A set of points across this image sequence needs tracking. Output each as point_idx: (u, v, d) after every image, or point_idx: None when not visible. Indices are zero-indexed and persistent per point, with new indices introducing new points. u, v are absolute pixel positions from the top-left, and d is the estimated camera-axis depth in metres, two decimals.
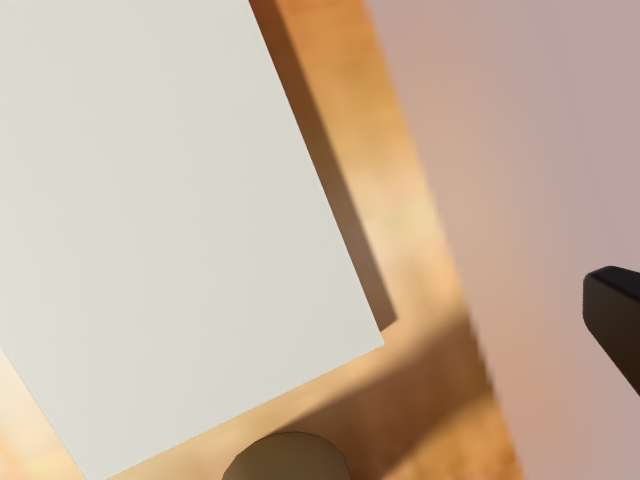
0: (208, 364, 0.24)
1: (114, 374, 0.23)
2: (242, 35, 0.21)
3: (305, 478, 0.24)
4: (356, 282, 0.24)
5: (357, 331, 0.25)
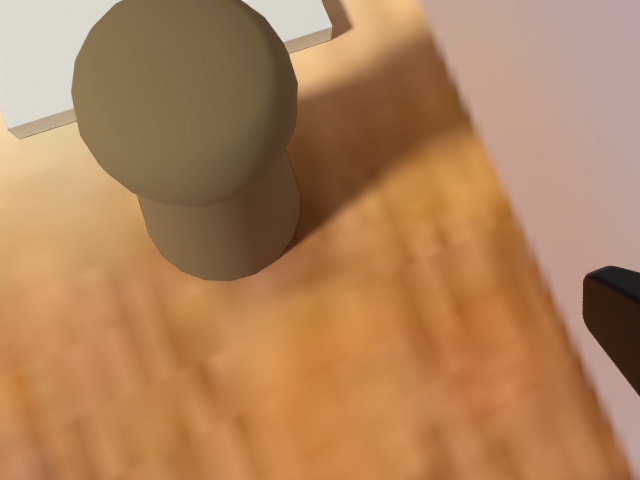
0: None
1: (55, 16, 0.24)
2: None
3: None
4: None
5: (302, 9, 0.24)
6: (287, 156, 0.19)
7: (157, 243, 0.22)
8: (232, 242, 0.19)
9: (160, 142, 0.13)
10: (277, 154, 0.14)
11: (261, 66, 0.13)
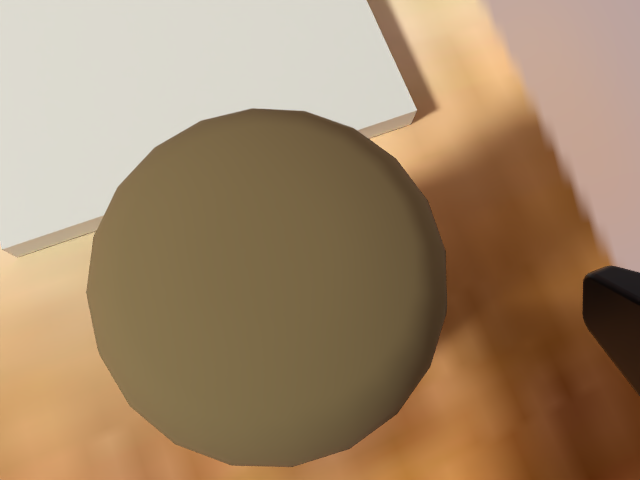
0: (184, 104, 0.19)
1: (67, 101, 0.19)
2: None
3: None
4: (375, 30, 0.20)
5: (378, 88, 0.19)
6: None
7: None
8: None
9: (240, 400, 0.07)
10: (418, 381, 0.09)
11: (406, 256, 0.08)
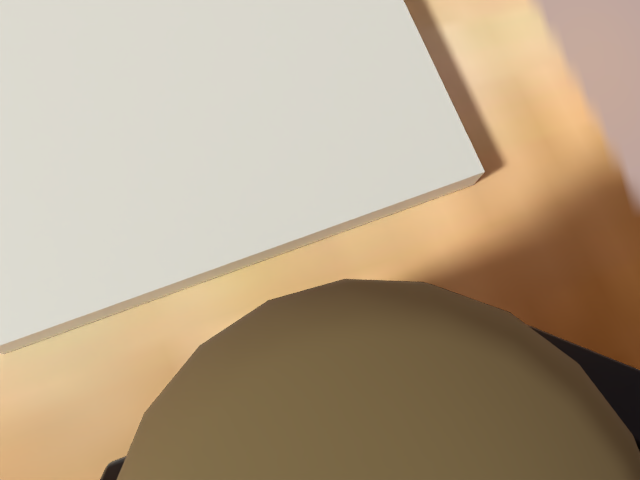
0: (206, 166, 0.16)
1: (65, 163, 0.15)
2: None
3: None
4: (432, 73, 0.17)
5: (438, 145, 0.16)
6: None
7: None
8: None
9: None
10: None
11: None
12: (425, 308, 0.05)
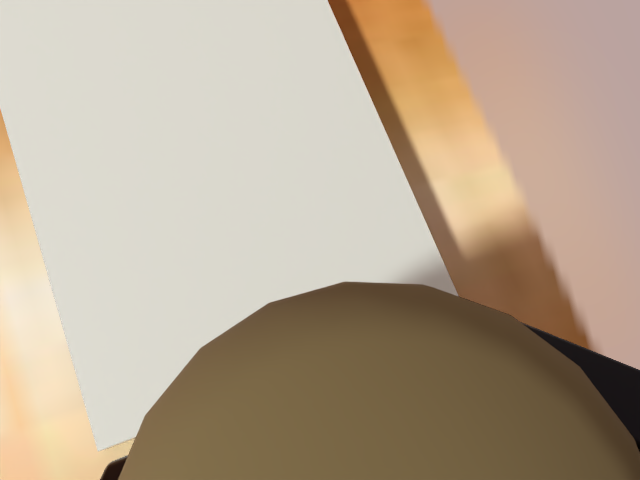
0: (255, 307, 0.21)
1: (151, 305, 0.21)
2: None
3: None
4: (425, 229, 0.22)
5: None
6: None
7: None
8: None
9: None
10: None
11: None
12: (426, 311, 0.05)
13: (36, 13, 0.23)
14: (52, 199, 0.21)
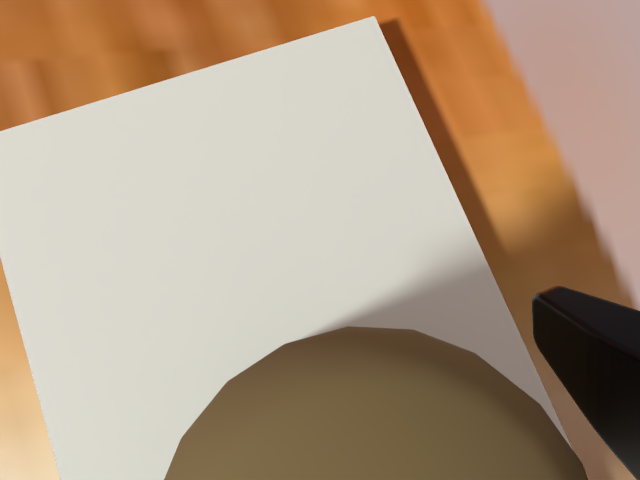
0: None
1: None
2: (412, 146, 0.19)
3: None
4: None
5: None
6: None
7: None
8: None
9: None
10: None
11: None
12: (415, 361, 0.06)
13: (59, 170, 0.18)
14: (84, 438, 0.16)
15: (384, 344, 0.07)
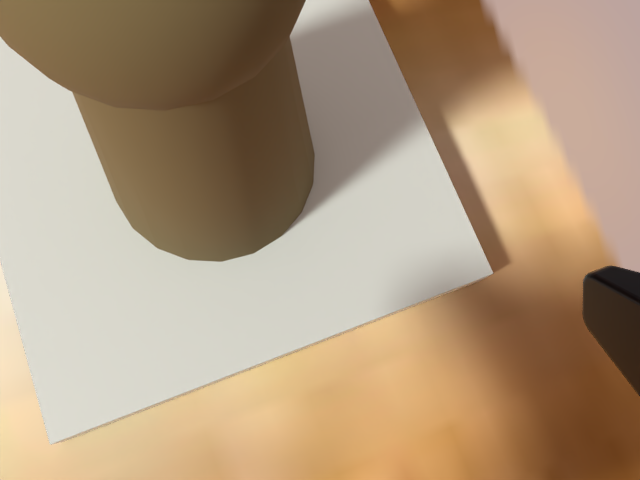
0: (243, 271, 0.17)
1: (117, 269, 0.17)
2: None
3: None
4: (446, 181, 0.18)
5: (451, 249, 0.18)
6: (298, 79, 0.14)
7: (123, 207, 0.16)
8: (220, 197, 0.14)
9: None
10: (283, 17, 0.09)
11: None
12: None
13: None
14: None
15: None
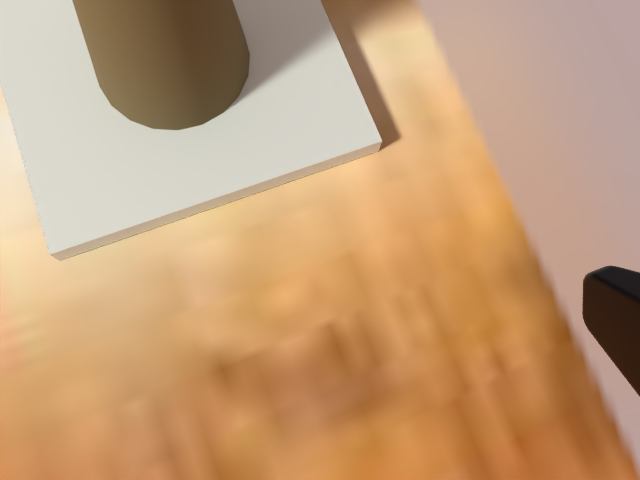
0: (193, 137, 0.23)
1: (100, 134, 0.23)
2: None
3: None
4: (349, 75, 0.24)
5: (351, 123, 0.24)
6: None
7: (104, 85, 0.22)
8: (168, 60, 0.20)
9: None
10: None
11: None
12: None
13: None
14: (12, 44, 0.24)
15: None
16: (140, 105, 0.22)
